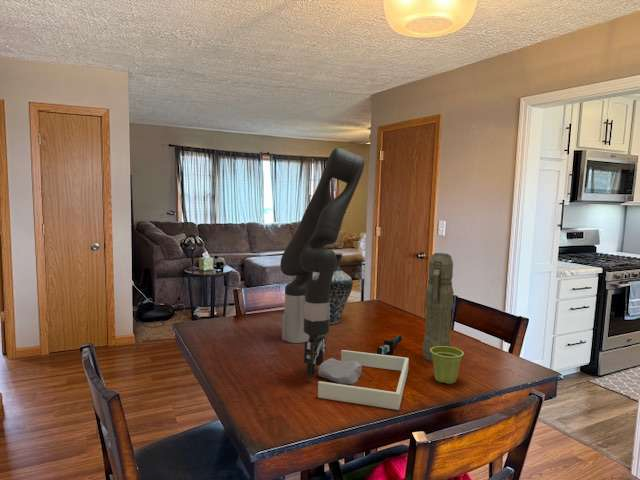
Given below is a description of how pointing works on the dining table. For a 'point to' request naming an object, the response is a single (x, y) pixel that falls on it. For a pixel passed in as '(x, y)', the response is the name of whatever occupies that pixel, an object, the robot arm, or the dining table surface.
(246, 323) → the dining table surface
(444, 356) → the plant pot
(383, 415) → the dining table surface
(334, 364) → the stone block
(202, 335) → the dining table surface
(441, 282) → the stone statue
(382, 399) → the cream u-shaped barrier
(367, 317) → the dining table surface
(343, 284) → the jug
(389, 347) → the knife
